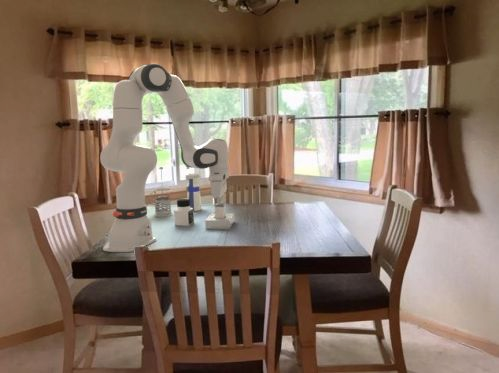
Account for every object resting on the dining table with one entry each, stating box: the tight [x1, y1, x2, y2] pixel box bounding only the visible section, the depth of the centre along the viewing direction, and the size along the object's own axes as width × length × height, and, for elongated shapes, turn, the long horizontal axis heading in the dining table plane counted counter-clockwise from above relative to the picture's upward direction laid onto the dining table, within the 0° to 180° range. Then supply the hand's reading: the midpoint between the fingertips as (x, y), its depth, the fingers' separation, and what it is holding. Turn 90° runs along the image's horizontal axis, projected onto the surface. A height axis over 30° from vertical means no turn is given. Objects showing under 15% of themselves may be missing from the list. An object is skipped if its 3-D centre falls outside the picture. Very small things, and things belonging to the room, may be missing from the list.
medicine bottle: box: [173, 197, 195, 227], centre depth 194 cm, size 7×7×12 cm
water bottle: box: [185, 165, 202, 212], centre depth 224 cm, size 8×9×25 cm
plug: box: [214, 202, 226, 218], centre depth 190 cm, size 4×4×9 cm
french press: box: [148, 166, 174, 218], centre depth 213 cm, size 10×12×25 cm
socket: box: [204, 212, 235, 230], centre depth 191 cm, size 14×11×5 cm
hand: (220, 204), depth 190 cm, fingers closed, pressing on plug
